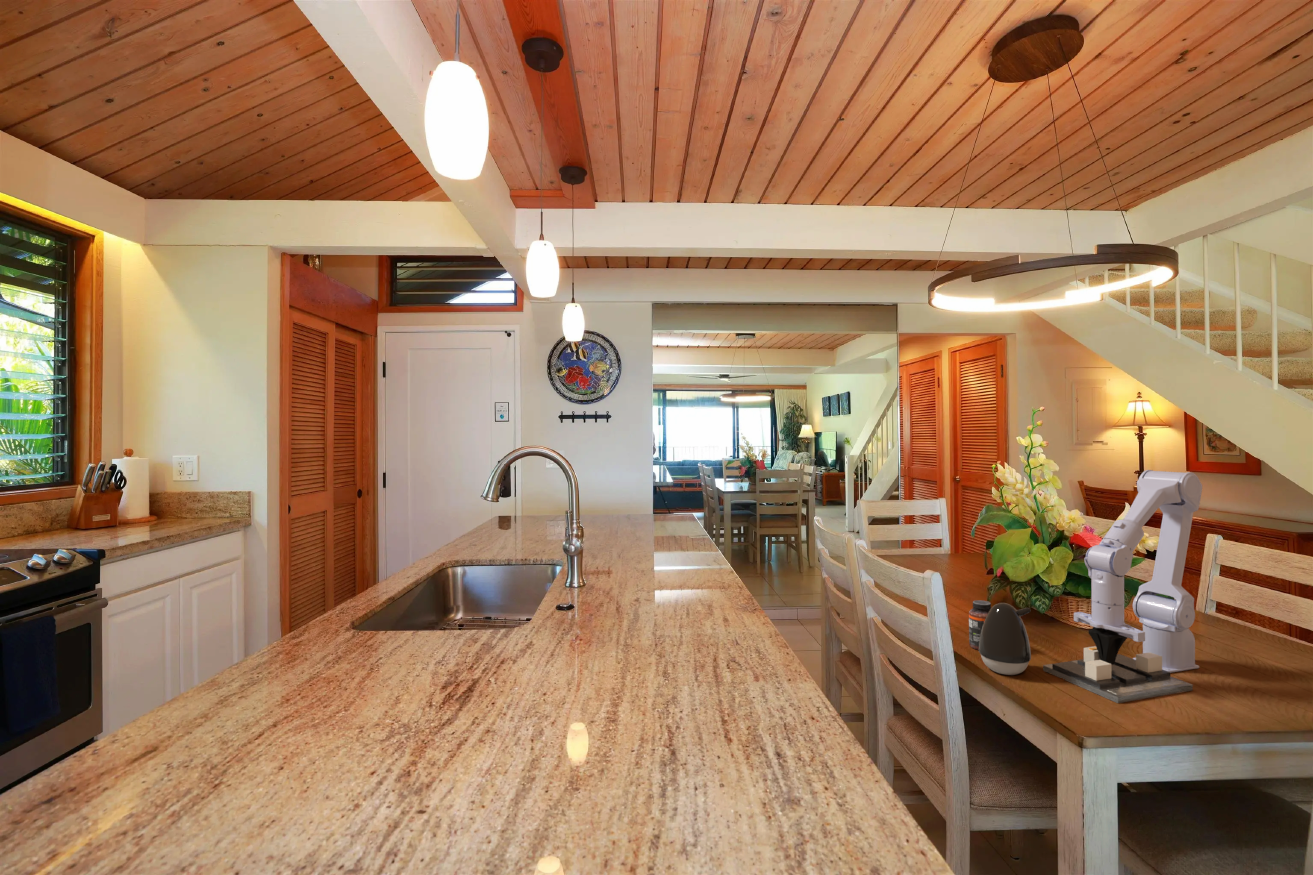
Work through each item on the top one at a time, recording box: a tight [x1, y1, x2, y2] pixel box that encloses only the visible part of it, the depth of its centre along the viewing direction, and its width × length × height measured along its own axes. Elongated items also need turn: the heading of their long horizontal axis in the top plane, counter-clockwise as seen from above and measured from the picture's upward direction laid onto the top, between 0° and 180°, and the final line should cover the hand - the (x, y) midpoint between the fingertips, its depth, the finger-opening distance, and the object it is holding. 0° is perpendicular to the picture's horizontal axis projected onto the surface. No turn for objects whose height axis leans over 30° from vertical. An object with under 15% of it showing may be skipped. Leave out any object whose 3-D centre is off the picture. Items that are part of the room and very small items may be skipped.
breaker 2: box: [1135, 652, 1162, 673], centre depth 132 cm, size 4×2×3 cm, turn 105°
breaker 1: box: [1085, 660, 1111, 681], centre depth 129 cm, size 4×2×3 cm, turn 105°
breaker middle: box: [1083, 645, 1101, 662], centre depth 136 cm, size 4×2×3 cm, turn 105°
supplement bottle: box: [968, 599, 992, 651], centre depth 152 cm, size 6×6×11 cm
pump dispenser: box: [978, 602, 1032, 676], centre depth 138 cm, size 10×10×15 cm
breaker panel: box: [1042, 653, 1194, 704], centre depth 132 cm, size 20×17×2 cm
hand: (1107, 663), depth 134 cm, fingers closed
